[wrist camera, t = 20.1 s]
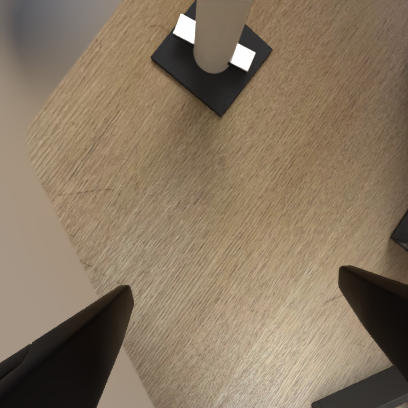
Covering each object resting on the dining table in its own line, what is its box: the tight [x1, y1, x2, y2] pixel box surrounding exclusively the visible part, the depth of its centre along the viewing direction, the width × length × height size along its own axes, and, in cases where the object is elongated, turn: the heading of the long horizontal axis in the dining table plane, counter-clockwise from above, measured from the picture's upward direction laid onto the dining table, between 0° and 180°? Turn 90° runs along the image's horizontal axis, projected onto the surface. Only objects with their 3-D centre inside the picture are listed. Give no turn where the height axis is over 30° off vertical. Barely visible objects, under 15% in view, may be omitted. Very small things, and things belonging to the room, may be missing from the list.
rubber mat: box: [151, 0, 272, 117], centre depth 18 cm, size 8×8×1 cm
